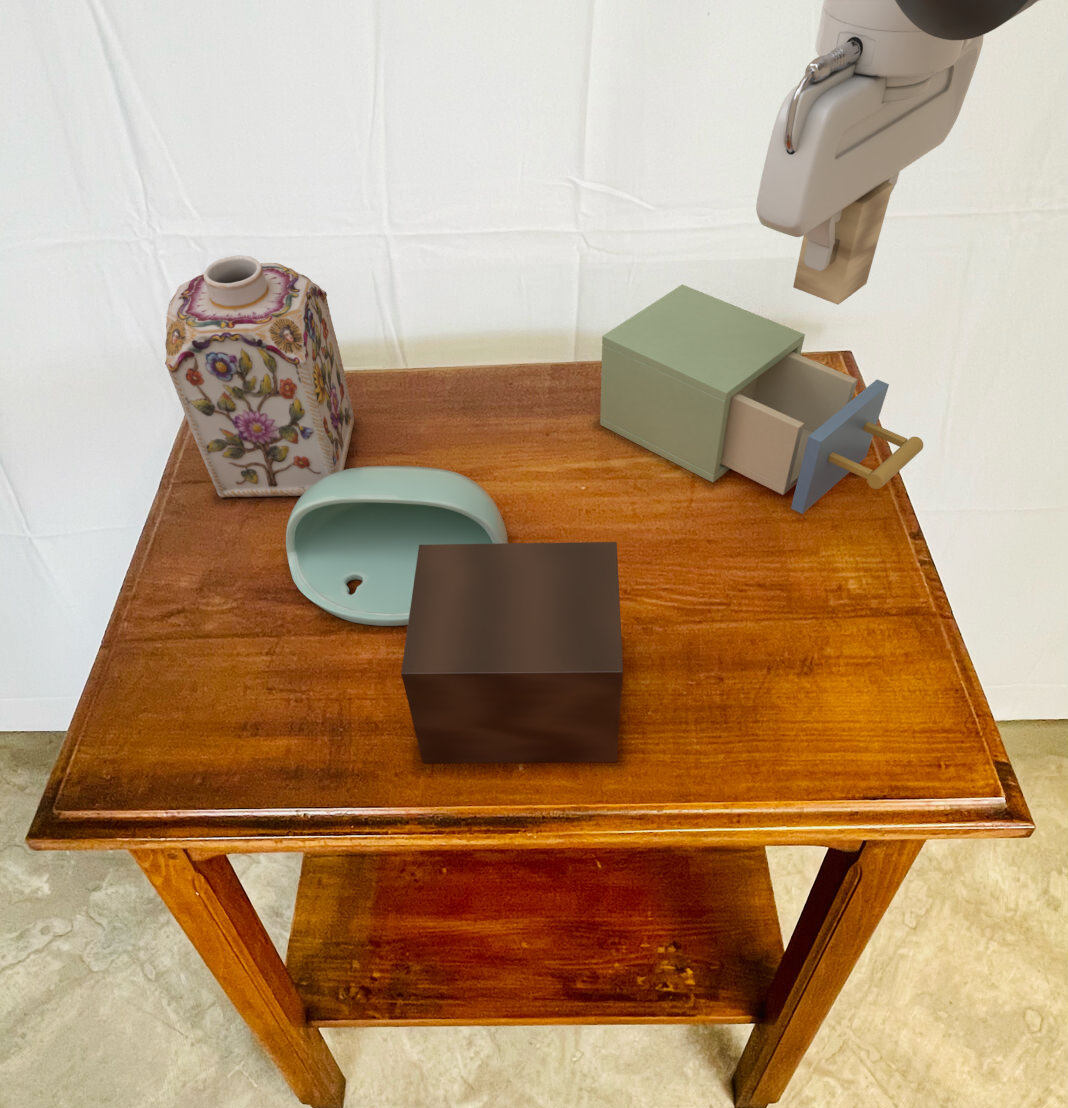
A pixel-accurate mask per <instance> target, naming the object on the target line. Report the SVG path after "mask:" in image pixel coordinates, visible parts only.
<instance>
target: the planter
mask: <svg viewBox="0 0 1068 1108" xmlns="http://www.w3.org/2000/svg"><path fill="white" fill-rule="evenodd" d="M285 531H286V532H285V548H286V555H287V562H288V566H289V570H290V574H291V578H292V580H293V583H294V584H295V585H296V587H297V589H298V590H299V591H300V593H302V594H303V596H305V597H306V598H307V599H308V600H309V601H311V602H312V603H313V604H315V605H316V606H317V607H319V608H321V609H322V610H324V612H327V613H329V614H331V615H333V616H334V617H337V618H339V619H343V620H345V621H348V622H351V623H355V624H361V625H369V626H377V627H378V626H379V627H398V626H400V627H401V626H408V621H409V614H410V606H411V599H412V592H413V585H414V578H415V571H416V563H417V556H418V549H419V545H425V544H499V543H509V538H508V532H507V527H506V524H505V521H504V518H503V516H502V513H501V511H500V509H499V507H498V506H497V503H496V502H495V501H494V499H493V498H492V497H491V495H490V494H489V493H488V491H487V490H485V489H484V488H483V487H482V486H481V485H480V484H479V483H477V482H476V481H475V480H473V479H471V478H470V477H467V476H466V475H463V474H461V473H459V472H456V471H452V470H448V469H444V468H438V467H429V466H418V465H417V466H416V465H369V466H358V467H351V468H346V469H344V470H342V471H339V472H336V473H333V474H331V475H328V476H326V477H324V478H322V479H321V480H319V481H318V482H316V483H315V484H313V485H312V486H311V487H310V488H309V489H308V490H307V491H306V492H305V493H304V494H303V495H302V496H299V498H298V499H297V501H296V503H295V505H294V506H293V508H292V510H291V512H290V515H289V517H288V520H287V525H286V530H285ZM355 580H357V581H361V583H360V584H359V585H358V586H357V587H356V588H355V591H354V592H353V593H352V594H350V591H351V590H350V587H349V586H348V584H349V582H352V581H355Z"/></svg>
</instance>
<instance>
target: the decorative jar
mask: <svg viewBox="0 0 1068 1108" xmlns="http://www.w3.org/2000/svg"><path fill="white" fill-rule="evenodd" d="M327 296H328V293H327V292H326V290H324V289H322V288H321V287H320V286H319V285H318V284H316V283H315V282H313V281H312V279H310V278H309V277H308V276H306V275H304V274H301V273H299V272H297V271H295V270H294V269H293V268H290V267H287V266H285V265H283V264H281V263H278V262H259V261H258V259H256V258H255V257H251V256H249V255H232V256H231V255H230V256H227V257H223V258H219V259H217V260H215V261H213V262H212V263H211V264H209V265H208V266H207V267H206V269H205V271H204V272H203V273H202V274H199V275H197V276H196V277H193V278H192V279H190V280H188V281H186V282H184V283H182V284H180V285H179V286H178V288H177V289H176V291H175V293H174V295H173V296H172V298H171V299H170V301H169V303H168V307H167V311H166V322H165V323H166V325H165V329H166V337H165V343H164V345H165V350H166V352H165V353H166V354H165V355H166V356H165V357H166V358H165V362H164V364H165V367H166V368H167V371H168V374H169V376H170V378H171V379H170V380H171V382H172V384H173V387H174V389H175V392H176V394H177V396H178V400H179V402H180V405H181V407H182V410H183V413H184V415H185V418H186V420H187V423H188V425H189V428H190V430H191V434H192V436H193V438H194V440H195V443H196V446H197V447H198V451H199V453H200V455H201V458H202V461H203V462H204V466H205V467H206V470H207V472H208V475H209V477H210V479H211V482H212V484H213V486H214V488H215V490H216V493H217V495H218V496H219V498H221V499H223V498H239V497H240V498H252V497H253V498H254V497H255V498H257V497H301V496H302V495H303V494H304V493H305V492H306V491H307V490H308V489H309V488H310V487H311V486H312V485H313V484H315V483H316V482H318V481H319V480H321V479H322V478H324V477H326V476H328V475H331V474H333V473H336V472H339V471H342V470H345V467H346V461H347V457H348V453H349V448H350V444H351V438H352V435H353V434H352V433H353V429H354V425H355V414H354V409H353V405H352V404H353V403H352V400H351V395H350V390H349V386H348V381H347V377H346V373H345V368H344V364H343V360H342V355H341V352H340V347H339V344H338V339H337V336H336V335H337V334H336V332H335V327H334V323H333V321H332V316H331V312H330V307H329V301H328V298H327Z"/></svg>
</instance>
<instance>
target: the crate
mask: <svg viewBox="0 0 1068 1108" xmlns="http://www.w3.org/2000/svg"><path fill="white" fill-rule="evenodd" d="M618 558H619V557H618V543H617V541H585V542H584V541H583V542H582V541H581V542H576V541H575V542H574V541H573V542H511V543H510V542H508V543H499V544H425V545H419V549H418V556H417V563H416V571H415V578H414V585H413V592H412V599H411V606H410V614H409V621H408V625H407V628H406V636H405V641H404V642H405V643H404V650H403V656H402V657H403V658H402V665H401V672H400V674H401V678H402V683H403V686H404V691H405V696H406V699H407V703H408V708H409V713H410V716H411V720H412V724H413V728H414V729H413V730H414V732H415V738H416V741H417V745H418V750H419V754H420V758H421V762H422V764H518V763H519V764H520V763H521V764H531V763H532V764H534V763H535V764H544V763H546V764H547V763H548V764H550V763H551V764H555V763H559V764H561V763H563V764H564V763H567V764H569V763H571V764H573V763H574V764H575V763H586V764H587V763H589V764H590V763H618V752H619V751H618V750H619V749H618V748H619V736H620V723H621V722H620V721H621V705H622V692H623V678H624V665H623V664H624V663H623V644H622V641H623V640H622V624H621V623H622V622H621V602H620V601H621V600H620V599H621V598H620V585H619V584H620V582H619V581H620V580H619V579H620V578H619V563H618V562H619V561H618Z"/></svg>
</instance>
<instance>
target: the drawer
mask: <svg viewBox="0 0 1068 1108" xmlns="http://www.w3.org/2000/svg"><path fill="white" fill-rule="evenodd" d="M857 385H858V379H857V378H856V377H853V376H851V375H848V374H846V373H843V372H842V371H839V370H837V369H835V368H832V367H830V366H827V365H825V364H822V363H820V362H818V361H815V360H813V359H810V358H808V357H806V356H803V355H802V354H801V355H799V354H796V353H794V352H792V351H791V352H790V353H789V354H787V355H786V356H785V357H784V358H782V359H781V360H780V361H778V362H777V363H776V364H774V365H773V366H772V367H770V368H769V369H768V370H766V371H765V372H764V373H762V374H761V375H760V376H758V377H757V378H756V379H754V380H753V381H752V382H750V383H749V384H748V385H746V386H745V387H744V388H742V389H741V390H740V391H738V392H737V393H736V394H735V395H733V396H732V397H731V399H730V405H729V412H728V418H727V424H726V431H725V437H724V443H723V450H722V456H721V462H720V464H722V465H724V466H726V467H728V468H730V469H729V470H732V471H733V472H737V473H739V474H740V475H743V476H744V477H746V478H747V479H750V480H752V481H754V482H757V483H758V484H760V485H762V486H764V487H766V488H768V489H770V490H772V491H774V492H776V493H778V494H780V495H782V496H784V495H785V494H786V493H787V492H789V491H790V490H791V489H793V487H794V486H795V485H796V486H795V489H794V490H795V491H794V494H793V497H792V501H791V506H790V509H791V510H793V511H795V512H797V513H799V514H801V515H803V514H804V513H805V512H807V510H809V509H810V508H811V507H813V506H814V504H816V502H818V501H819V500H820V499H821V498H822V497H823V496H825V495H826V493H828V492H829V491H830V490H831V489H833V488H834V487H835V486H836V485H837V484H838V483H839V482H840V481H841V480H842V479H843V478H845V477H846V476H847V475H848V474H850V473H853V474H854V475H857V476H859V477H861V478H863V479H865V480H866V481H867V484H868V486H869V487H870V488H871V489H873V490H880V489H882V488H883V487H884V486H885V485H886V484H887V483H888V482H889V481H890V480H891V479H892V478H893V477H894V476H896V475H897V474H898V473H899V472H900V471H901V470H902V469H903V468H904V467H905V466H906V465H907V464H908V463H909V462H910V461H912V460H913V459H914V458H915V457H916V456H917V455H918V454H919V453H920V452H921V451H922V450H923V449H924V441H923V440H922V439H921V438H920V437H918V436H911V437H909V439H908V438H907V437H905V436H902V435H900V434H898V433H896V432H893V431H891V430H888V429H887V428H884V427H881V426H880V425H877V424H878V422H879V418H880V415H881V411H882V408H883V405H884V402H885V399H886V396H887V393H888V389H889V387H890V384H889V383H887V382H885V381H882V380H880V379H877V378H876V379H875V380H874V381H873V382H872V383H870V384H869V385H868V386H867V387H866V388H864V389H863V390H862V391H861V392H860V393H858V394H857V395H856V396H855V397H854V395H855V392H856V387H857ZM874 436H875V437H877V438H879V439H882V440H883V441H886V442H888V443H890V444H892V445H895V446H897V447H898V448H897V449H896V450H895V451H894V452H893V453H891V454H890V456H889V457H887V459H885V460H884V461H883V462H882V463H880V465H879V466H877V468H876V469H874V470H873V469H871V468H869V467H866V466H864V465H863V464H861V463H862V462H863V461H864V460H865V459H866V458H867V457H868V454H869V450H870V446H871V444H872V440H873V437H874Z"/></svg>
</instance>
